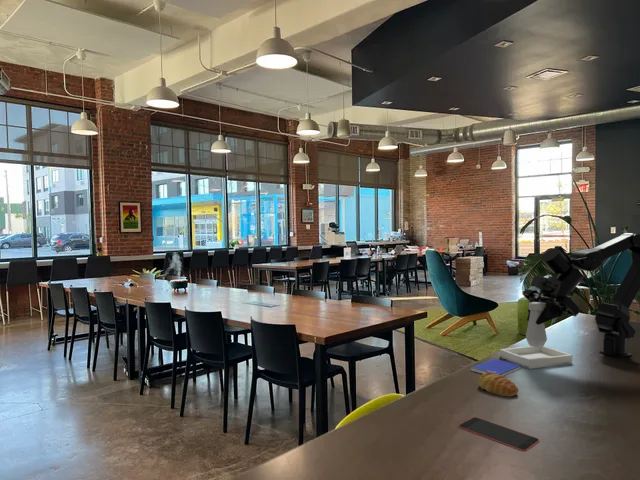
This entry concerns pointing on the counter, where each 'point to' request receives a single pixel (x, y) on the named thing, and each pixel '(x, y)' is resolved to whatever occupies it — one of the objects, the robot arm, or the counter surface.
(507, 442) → the smartphone
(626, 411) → the counter surface
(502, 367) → the hard drive
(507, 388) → the pastry
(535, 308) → the salt shaker
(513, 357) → the tray
